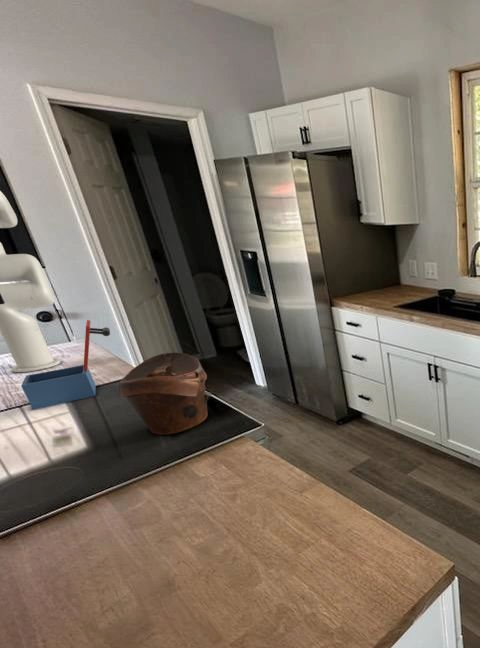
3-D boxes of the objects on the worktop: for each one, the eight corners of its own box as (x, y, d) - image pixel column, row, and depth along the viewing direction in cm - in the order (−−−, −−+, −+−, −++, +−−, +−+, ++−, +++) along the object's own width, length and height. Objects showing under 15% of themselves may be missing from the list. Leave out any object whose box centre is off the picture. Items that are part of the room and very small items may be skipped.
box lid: (85, 326, 125) (110, 328, 129) (87, 320, 133) (110, 322, 137) (83, 371, 127) (107, 372, 131) (84, 362, 135) (107, 363, 139)
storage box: (32, 409, 122) (21, 385, 119) (37, 398, 130) (26, 375, 127) (95, 395, 131) (85, 373, 128) (95, 385, 139) (86, 364, 136)
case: (157, 449, 99) (131, 381, 93) (123, 430, 109) (97, 367, 102) (234, 418, 114) (216, 357, 107) (198, 403, 123) (179, 347, 117)
